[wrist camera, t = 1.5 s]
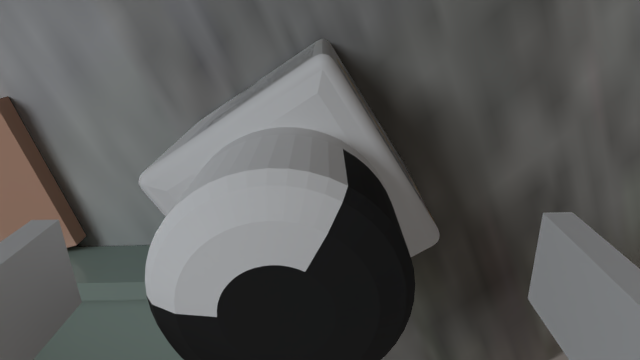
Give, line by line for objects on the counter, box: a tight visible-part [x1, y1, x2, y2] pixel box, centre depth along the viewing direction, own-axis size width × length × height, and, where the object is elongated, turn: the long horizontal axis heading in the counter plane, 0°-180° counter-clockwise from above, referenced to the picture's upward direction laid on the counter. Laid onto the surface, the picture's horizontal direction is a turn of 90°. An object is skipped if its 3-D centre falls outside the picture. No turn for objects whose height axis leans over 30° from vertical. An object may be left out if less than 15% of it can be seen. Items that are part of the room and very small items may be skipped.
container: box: [139, 39, 440, 360], centre depth 16 cm, size 8×8×13 cm
